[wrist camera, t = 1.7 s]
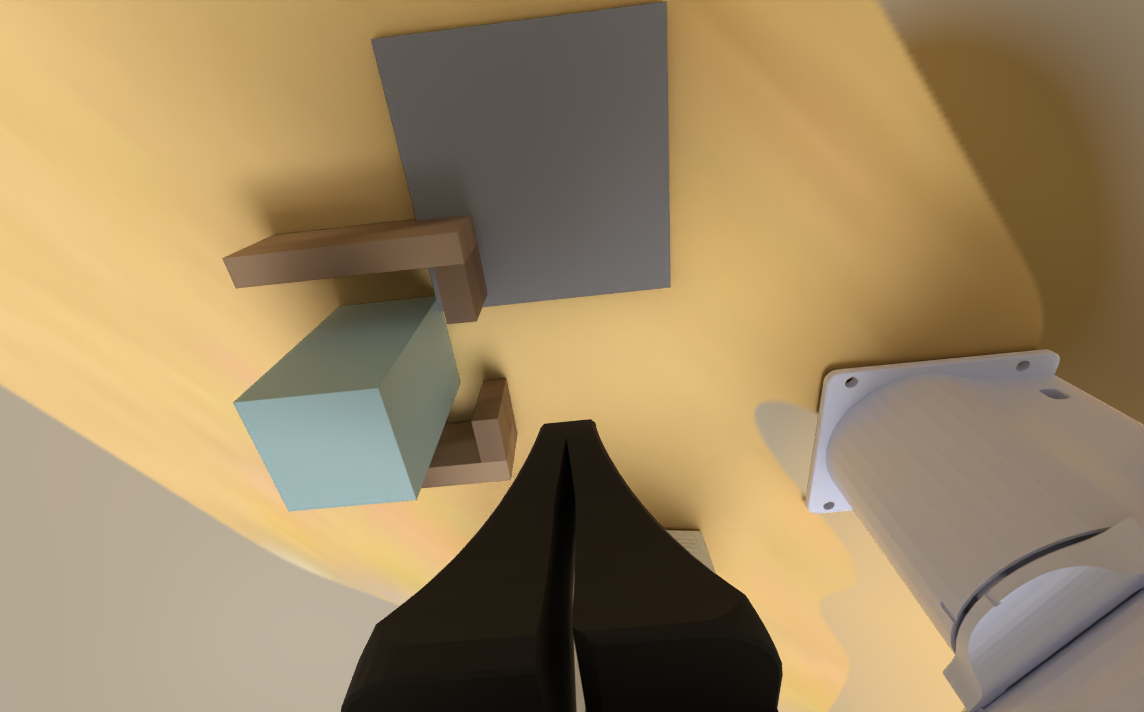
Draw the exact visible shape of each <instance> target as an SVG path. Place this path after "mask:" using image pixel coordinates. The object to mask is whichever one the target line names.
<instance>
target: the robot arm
mask: <svg viewBox="0 0 1144 712" xmlns="http://www.w3.org/2000/svg"><path fill="white" fill-rule="evenodd" d="M1020 362H1021V363H1020ZM1059 362H1060V357H1059V355H1058V354H1056V353H1055V352H1053V351H1051V350H1047V349H1044V350H1033V351H1022V352H1012V353H1002V354H991V355H981V356H971V357H961V358H950V359H940V360H930V361H919V362H909V363H899V364H888V365H878V366H868V367H857V368H847V369H837V370H833V371H831V372H830V373H828V374H827V375H826V376H825V379H824V382H823V388H822V395H821V401H820V408H819V414H818V421H817V428H816V434H815V441H814V447H813V454H812V461H811V467H810V473H809V480H808V486H807V493H806V499H805V505H806V507H807V509H808V510H809V511H810V512H811V513H827V512H840V511H851V510H853V511H854V512H855V514H856V515H857V516H858V518H859V519H860V521H861V522H862V523H863V525H864V526H865V528H866V529H867V531H868V532H869V533H870V535H871V536H872V538H873V539H874V540H875V542H876V543H877V545H878V546H879V548H880V549H881V551H882V552H883V553H884V555H885V556H886V557H887V559H888V560H889V562H890V563H891V564H892V566H893V567H894V569H895V570H896V572H897V573H898V575H899V576H900V577H901V579H902V580H903V582H904V583H905V585H906V586H907V587H908V589H909V590H910V592H911V593H912V594H913V596H914V597H915V599H916V600H917V602H918V603H919V604H920V606H921V607H922V609H923V610H924V612H925V613H926V614H927V616H928V617H929V619H930V620H931V621H932V623H933V624H934V625H935V627H936V629H937V630H938V631H939V633H940V634H941V636H942V637H943V638H944V640H945V641H946V643H947V644H948V646H949V647H950V648H951V650H952V651H953V653H954V654H955V656H954V658H953V660H952V661H951V663H950V664H949V665H948V666H947V667H946V668H945V669H944V670H943V674H944V676H945V677H946V679H947V680H948V682H949V683H950V685H951V686H952V688H953V689H954V691H955V692H956V694H957V695H958V697H959V698H960V700H961V701H962V703H963V704H964V706H965V708H964V709H963V710H962V711H961V712H1144V425H1143V424H1142V423H1140V422H1138V421H1136V420H1134V419H1133V418H1131V417H1129V416H1127V415H1125V414H1124V413H1122V412H1120V411H1118V410H1117V409H1115V408H1113V407H1111V406H1109V405H1108V404H1106V403H1104V402H1102V401H1100V400H1099V399H1097V398H1095V397H1093V396H1091V395H1090V394H1088V393H1086V392H1084V391H1082V390H1081V389H1079V388H1077V387H1075V386H1073V385H1072V384H1070V383H1068V382H1066V381H1064V380H1063V379H1061V378H1059V377H1057V376H1055V375H1054V374H1055V372H1056V369H1057V367H1058V365H1059ZM1019 363H1020V364H1019ZM1018 364H1019V365H1018ZM1017 365H1018V366H1017ZM852 377H853V379H852V380H851V381H850V382H848V383H846V381H847V380H848V379H849V378H852ZM827 502H828V503H827ZM825 503H826V504H825ZM574 572H575V574H574ZM573 590H574V597H573ZM574 643H575V649H576V655H577V661H578V666H579V672H580V678H581V684H582V690H583V696H584V702H585V712H778V709H777V706H778V700H779V693H780V687H781V681H782V662H781V660H780V657H779V655H778V652H777V649H776V647H775V645H774V643H773V641H772V639H771V637H770V635H769V633H768V631H767V629H766V628H765V626H764V624H763V622H762V621H761V619H760V617H759V615H758V614H757V612H756V611H755V609H754V607H753V606H752V604H751V603H750V601H749V600H748V598H747V597H746V595H745V594H743V593H742V592H740V591H739V590H738V589H736V588H735V587H733V586H732V585H730V584H729V583H728V582H726V581H725V580H723V579H722V578H721V577H719V576H718V575H717V574H715V573H714V572H713V571H711V570H710V569H709V568H708V567H706V566H705V565H704V564H703V563H702V562H700V561H699V560H698V559H697V558H695V557H694V556H693V555H692V554H691V553H690V552H689V551H687V550H686V549H685V548H684V547H683V546H682V545H681V544H680V543H679V542H678V541H677V540H676V539H675V538H673V537H672V536H671V535H670V534H669V533H668V532H667V531H666V530H665V529H664V528H663V527H662V526H661V525H660V524H659V523H658V522H657V520H656V519H655V518H654V517H653V516H652V515H651V514H650V513H649V512H648V510H647V509H646V508H645V507H644V506H643V505H642V503H641V502H640V501H639V500H638V498H637V497H636V496H635V494H634V493H633V492H632V490H631V489H630V488H629V486H628V485H627V484H626V482H625V481H624V479H623V478H622V476H621V475H620V473H619V472H618V470H617V468H616V467H615V465H614V463H613V462H612V460H611V459H610V457H609V455H608V453H607V451H606V449H605V447H604V445H603V443H602V441H601V439H600V437H599V434H598V431H597V428H596V424H595V422H594V421H592V420H591V419H589V420H579V421H569V422H558V423H548V424H544V425H543V426H542V427H541V428H540V431H539V434H538V436H537V439H536V441H535V443H534V445H533V447H532V449H531V451H530V454H529V456H528V458H527V459H526V461H525V463H524V465H523V467H522V468H521V470H520V472H519V474H518V476H517V477H516V479H515V481H514V482H513V484H512V485H511V487H510V488H509V490H508V491H507V493H506V495H505V496H504V498H503V499H502V501H501V502H500V504H499V505H498V506H497V508H496V509H495V511H494V512H493V513H492V515H491V516H490V517H489V519H488V520H487V521H486V522H485V524H484V525H483V526H482V527H481V529H480V530H479V531H478V532H477V533H476V535H475V536H474V537H473V538H472V539H471V540H470V541H469V543H468V544H467V545H466V546H465V547H464V548H463V549H462V550H461V551H460V553H459V554H458V555H457V556H456V557H455V558H454V559H453V560H452V561H451V562H450V563H449V564H448V565H447V566H446V567H445V568H444V569H442V570H441V571H440V572H439V573H438V574H437V575H436V576H435V577H434V578H433V579H432V580H431V581H430V582H429V583H428V584H426V585H425V586H424V587H423V588H422V589H421V590H420V591H418V592H417V593H416V594H415V595H414V596H412V597H411V598H410V599H408V600H407V601H406V602H405V603H403V604H402V605H401V606H399V607H398V608H397V609H396V610H394V611H393V612H392V613H391V614H389V615H388V616H387V617H385V618H384V619H383V620H381V621H380V622H379V623H377V624H376V626H375V628H374V630H373V632H372V634H371V636H370V638H369V640H368V642H367V644H366V646H365V648H364V650H363V653H362V655H361V657H360V659H359V662H358V664H357V667H356V670H355V672H354V675H353V677H352V680H351V683H350V686H349V688H348V691H347V694H346V697H345V699H344V702H343V705H342V708H341V712H577V707H576V684H575V659H574Z"/></svg>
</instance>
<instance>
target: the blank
mask: <svg viewBox="0 0 1144 712" xmlns="http://www.w3.org/2000/svg"><path fill="white" fill-rule="evenodd" d="M460 383H461V382H460V378H459V374H458V370H457V366H456V362H455V358H454V354H453V350H452V346H451V342H450V338H449V334H448V330H447V326H446V322H445V318H444V314H443V311H440V312H439V308H438V304H437V300H436V296H430V297H421V298H411V299H402V300H393V301H383V302H374V303H365V304H355V305H346V306H340V307H338V308H337V309H336V310H335V311H334V312H333V313H332V314H331V315H330V316H328V317H327V318H326V319H325V320H324V321H323V322H322V323H321V324H320V325H318V326H317V327H316V328H315V329H314V330H313V331H312V332H311V333H310V334H309V335H307V336H306V337H305V338H304V339H303V340H302V341H301V342H300V343H299V344H297V345H296V346H295V347H294V348H293V349H292V350H291V351H290V352H289V353H287V354H286V355H285V356H284V357H283V358H282V359H281V360H280V361H279V362H278V363H276V364H275V365H274V366H273V367H272V368H271V369H270V370H269V371H268V372H266V373H265V374H264V375H263V376H262V377H261V378H260V379H259V380H258V381H256V382H255V383H254V384H253V385H252V386H251V387H250V388H249V389H248V390H247V391H245V392H244V393H243V394H242V395H241V396H240V397H239V398H238V399H237V400H235V401H234V402H233V404H234V406H235V408H236V409H237V411H238V413H239V415H240V417H241V419H242V421H243V423H244V425H245V427H246V429H247V431H248V433H249V435H250V437H251V439H252V441H253V443H254V445H255V447H256V449H257V450H258V452H259V454H260V456H261V458H262V460H263V462H264V464H265V466H266V468H267V470H268V472H269V474H270V476H271V478H272V480H273V482H274V484H275V486H276V488H277V489H278V491H279V493H280V495H281V497H282V499H283V501H284V503H285V505H286V507H287V509H288V511H300V510H311V509H322V508H333V507H345V506H356V505H367V504H378V503H389V502H400V501H411V500H417V497H418V495H419V492H420V489H421V487H422V484H423V481H424V479H425V476H426V473H427V471H428V468H429V465H430V463H431V460H432V457H433V455H434V452H435V449H436V447H437V444H438V441H439V439H440V436H441V433H442V431H443V428H444V425H445V423H446V420H447V417H448V415H449V412H450V409H451V407H452V404H453V401H454V399H455V396H456V393H457V391H458V388H459V385H460Z"/></svg>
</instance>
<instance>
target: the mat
mask: <svg viewBox="0 0 1144 712" xmlns="http://www.w3.org/2000/svg"><path fill="white" fill-rule="evenodd" d="M371 41H372V45H373V49H374V53H375V57H376V61H377V65H378V69H379V73H380V77H381V81H382V85H383V89H384V93H385V97H386V101H387V105H388V109H389V113H390V117H391V121H392V125H393V129H394V133H395V137H396V141H397V145H398V149H399V153H400V157H401V161H402V165H403V169H404V173H405V177H406V181H407V185H408V188H409V192H410V196H411V200H412V204H413V208H414V212H415V216H416V220H417V221H422V220H431V219H440V218H449V217H458V216H467V215H472V218H473V223H474V228H475V233H476V238H477V243H478V248H479V253H480V258H481V263H482V268H483V273H484V278H485V283H486V288H487V294H488V295H487V297H486V299H485V302H484V304H483V307H488V306H497V305H507V304H516V303H526V302H536V301H545V300H555V299H564V298H574V297H583V296H593V295H602V294H612V293H621V292H631V291H640V290H650V289H659V288H669V287H671V286H670V214H669V143H668V71H667V1H666V2H658V3H651V4H643V5H635V6H627V7H619V8H611V9H604V10H596V11H588V12H580V13H572V14H565V15H557V16H549V17H541V18H533V19H525V20H518V21H510V22H502V23H494V24H486V25H479V26H471V27H463V28H455V29H447V30H439V31H432V32H424V33H416V34H408V35H400V36H393V37H385V38H377V39H371ZM428 268H429V272H430V276H431V280H432V284H433V288H434V292H435V296H436V300H437V304H438V308H439V312H440V311H444V308H443V304H442V300H441V296H440V292H439V288H438V284H437V280H436V276H435V272H434V268H433V267H428Z"/></svg>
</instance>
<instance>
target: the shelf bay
mask: <svg viewBox="0 0 1144 712" xmlns="http://www.w3.org/2000/svg"><path fill="white" fill-rule="evenodd" d="M222 259H223V261H224V263H225V265H226V268H227V270H228V272H229V274H230V276H231V279H232V281H233V283H234V285H235V288H244V287H253V286H263V285H272V284H281V283H290V282H300V281H309V280H318V279H327V278H336V277H346V276H355V275H364V274H373V273H382V272H392V271H401V270H410V269H419V268H428V267H433V268H434V272H435V276H436V280H437V284H438V288H439V292H440V296H441V300H442V304H443V308H444V312H445V317H446V321H447V324H454V323H464V322H473V321H477V319H478V317H479V314H480V312H481V309H482V307H483V304H484V302H485V299H486V297H487V295H488V294H487V288H486V283H485V278H484V273H483V268H482V263H481V258H480V253H479V248H478V243H477V238H476V233H475V228H474V223H473V218H472V215H467V216H458V217H449V218H440V219H431V220H422V221H417V220H416V219H413V220H404V221H395V222H386V223H377V224H369V225H360V226H351V227H342V228H333V229H324V230H315V231H306V232H298V233H289V234H280V235H273V236H270V237H268V238H266V239H264V240H262V241H259V242H257V243H255V244H253V245H251V246H248V247H246V248H244V249H242V250H240V251H237V252H235V253H233V254H231V255H229V256H226V257H224V258H222ZM516 441H517V430H516V425H515V420H514V415H513V410H512V405H511V400H510V395H509V390H508V385H507V379H497V380H487V381H483V384H482V387H481V390H480V394H479V397H478V400H477V404H476V407H475V411H474V414H473V417H472V421H466V422H456V423H445V425H444V428H443V431H442V433H441V436H440V439H439V441H438V444H437V447H436V449H435V452H434V455H433V457H432V460H431V463H430V465H429V468H428V471H427V473H426V476H425V479H424V481H423V484H422V487H421V488H429V487H440V486H451V485H462V484H473V483H484V482H495V481H506V480H511V475H512V468H513V462H514V455H515V448H516Z"/></svg>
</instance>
